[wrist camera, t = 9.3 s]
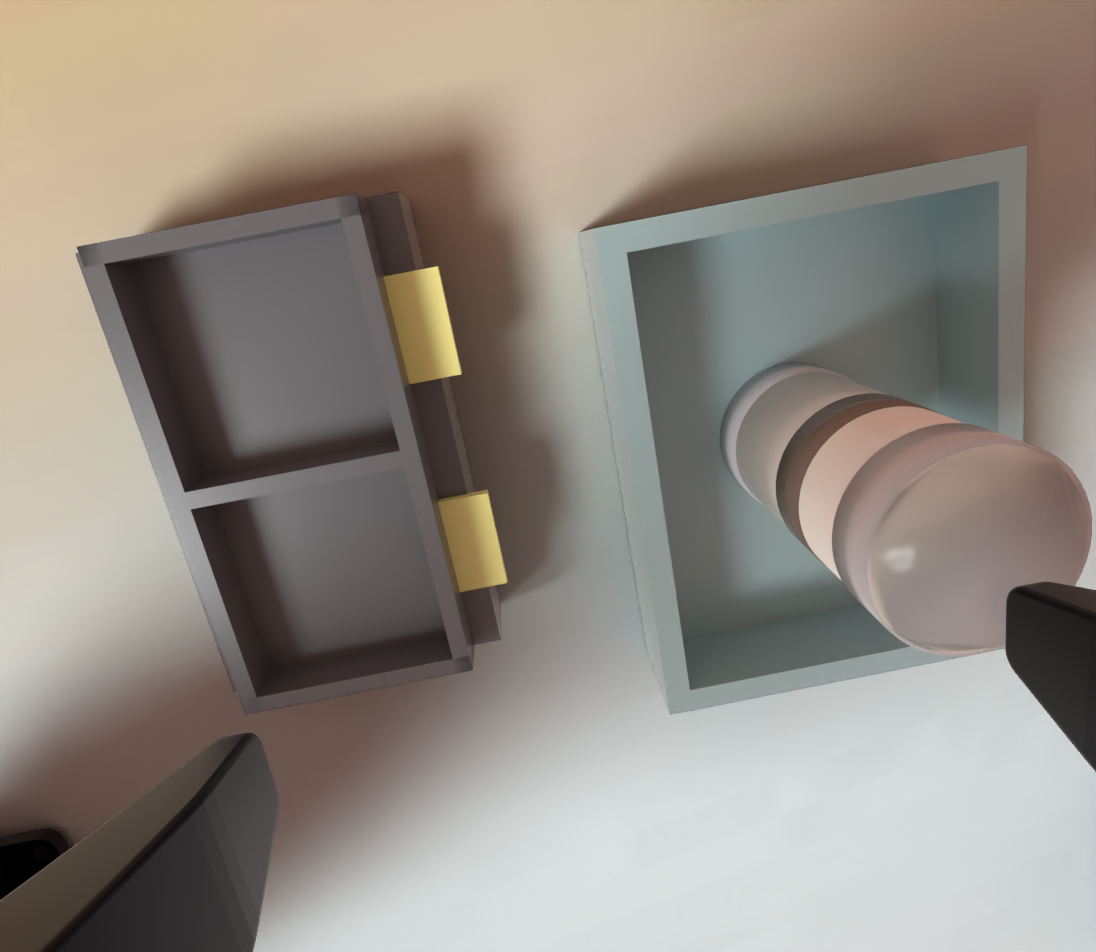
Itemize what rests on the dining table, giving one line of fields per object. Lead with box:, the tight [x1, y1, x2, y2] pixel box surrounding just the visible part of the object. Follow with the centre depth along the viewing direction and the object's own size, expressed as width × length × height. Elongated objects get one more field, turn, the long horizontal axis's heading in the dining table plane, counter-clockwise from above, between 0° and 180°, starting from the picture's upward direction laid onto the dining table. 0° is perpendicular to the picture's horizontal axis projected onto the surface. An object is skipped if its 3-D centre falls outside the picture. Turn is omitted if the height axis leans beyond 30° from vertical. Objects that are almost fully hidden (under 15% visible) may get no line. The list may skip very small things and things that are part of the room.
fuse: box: [720, 363, 1092, 656], centre depth 15 cm, size 4×4×8 cm
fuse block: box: [75, 192, 507, 715], centre depth 18 cm, size 11×8×3 cm
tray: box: [579, 145, 1027, 715], centre depth 18 cm, size 12×9×3 cm
